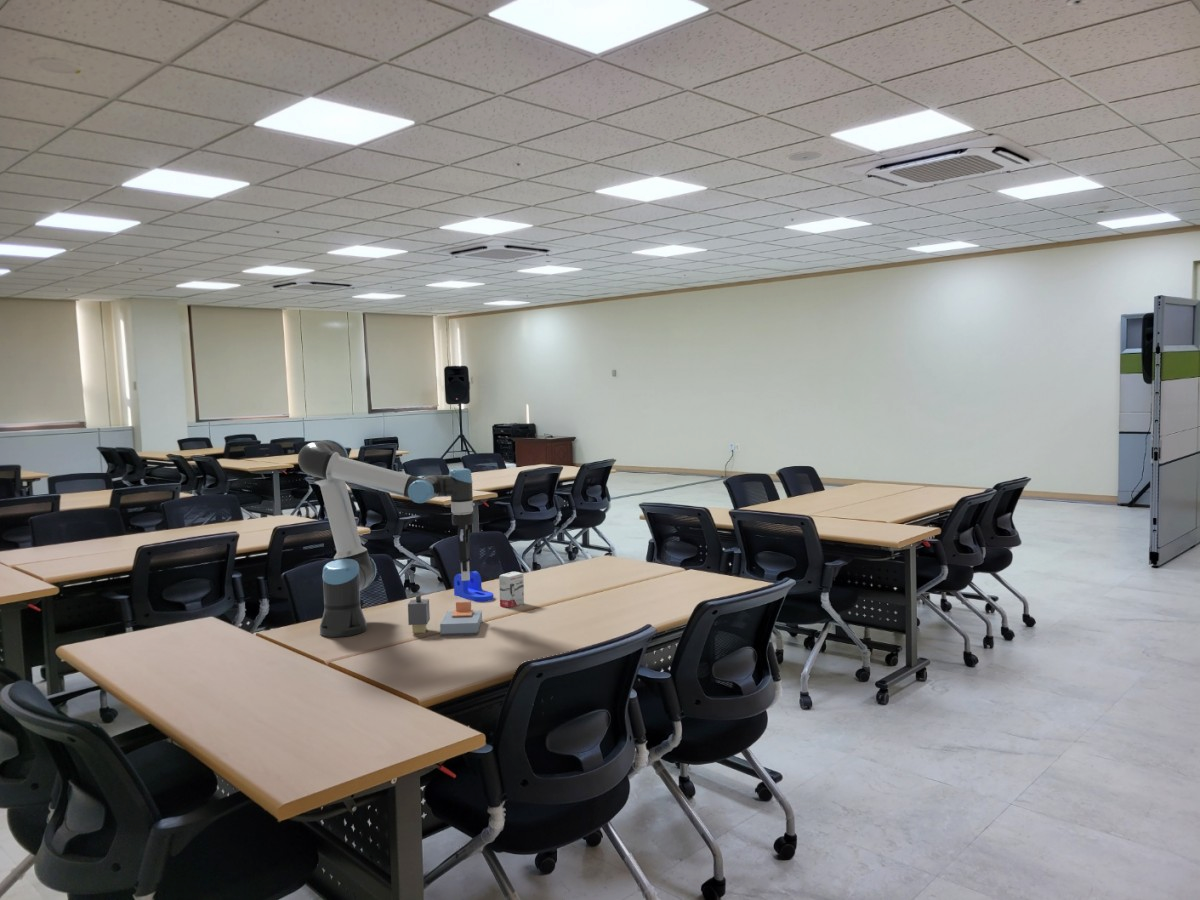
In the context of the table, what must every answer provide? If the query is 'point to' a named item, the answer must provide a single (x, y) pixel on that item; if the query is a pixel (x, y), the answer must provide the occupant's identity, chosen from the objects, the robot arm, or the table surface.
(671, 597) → the table surface
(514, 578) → the ink box
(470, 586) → the bracket
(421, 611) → the plug
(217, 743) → the table surface
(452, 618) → the socket
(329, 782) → the table surface
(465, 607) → the shutter
